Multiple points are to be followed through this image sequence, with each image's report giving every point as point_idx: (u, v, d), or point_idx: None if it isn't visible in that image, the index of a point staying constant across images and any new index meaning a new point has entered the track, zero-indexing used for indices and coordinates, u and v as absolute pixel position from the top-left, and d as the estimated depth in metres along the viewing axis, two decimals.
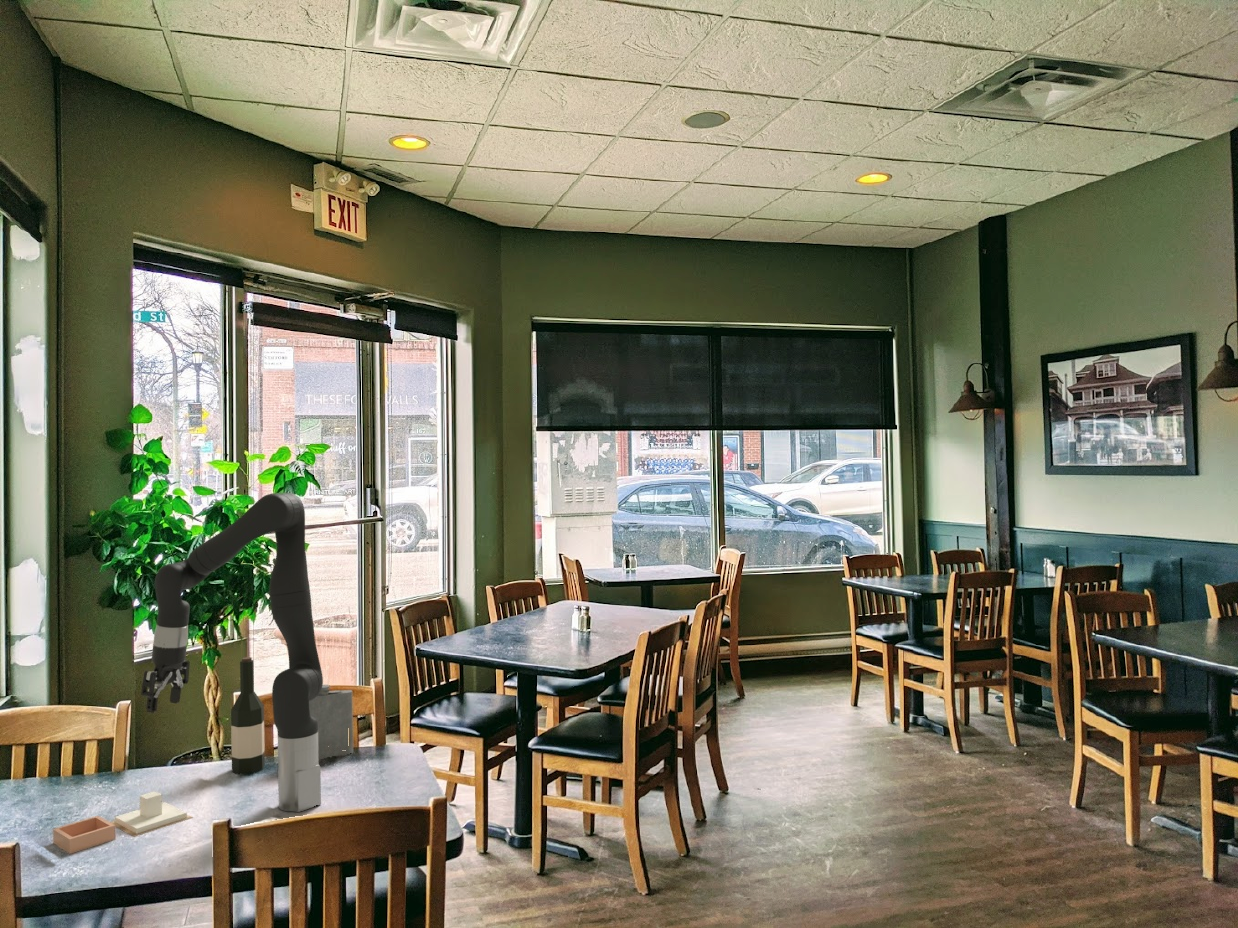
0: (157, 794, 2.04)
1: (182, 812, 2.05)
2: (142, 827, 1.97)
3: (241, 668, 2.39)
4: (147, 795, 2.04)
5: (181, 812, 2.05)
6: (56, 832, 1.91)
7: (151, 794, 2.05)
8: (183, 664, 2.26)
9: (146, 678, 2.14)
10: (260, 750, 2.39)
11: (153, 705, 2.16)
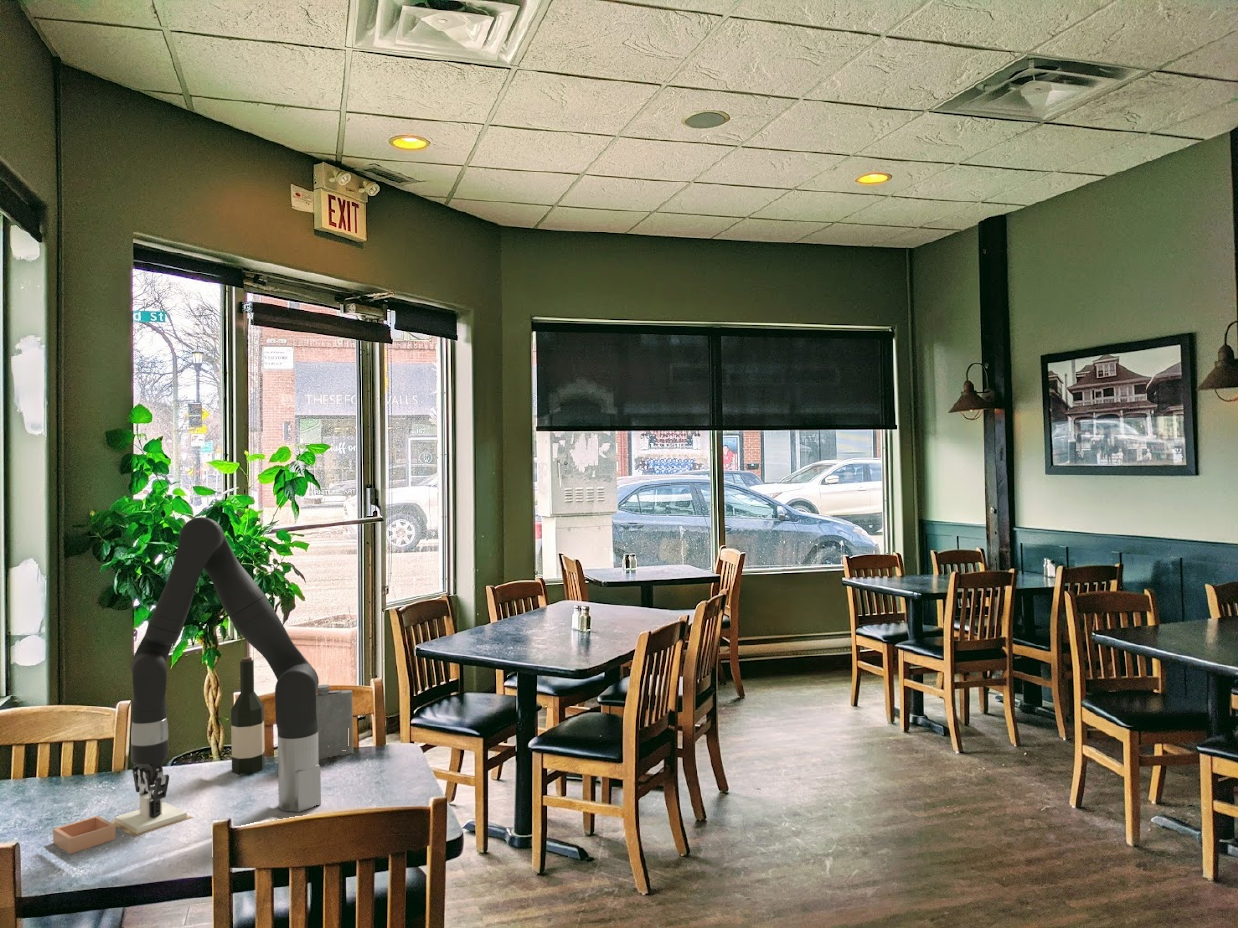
0: None
1: (182, 812, 2.05)
2: (142, 827, 1.97)
3: (241, 668, 2.39)
4: (147, 795, 2.04)
5: (181, 812, 2.05)
6: (56, 832, 1.91)
7: None
8: None
9: (161, 784, 2.00)
10: (260, 750, 2.39)
11: None
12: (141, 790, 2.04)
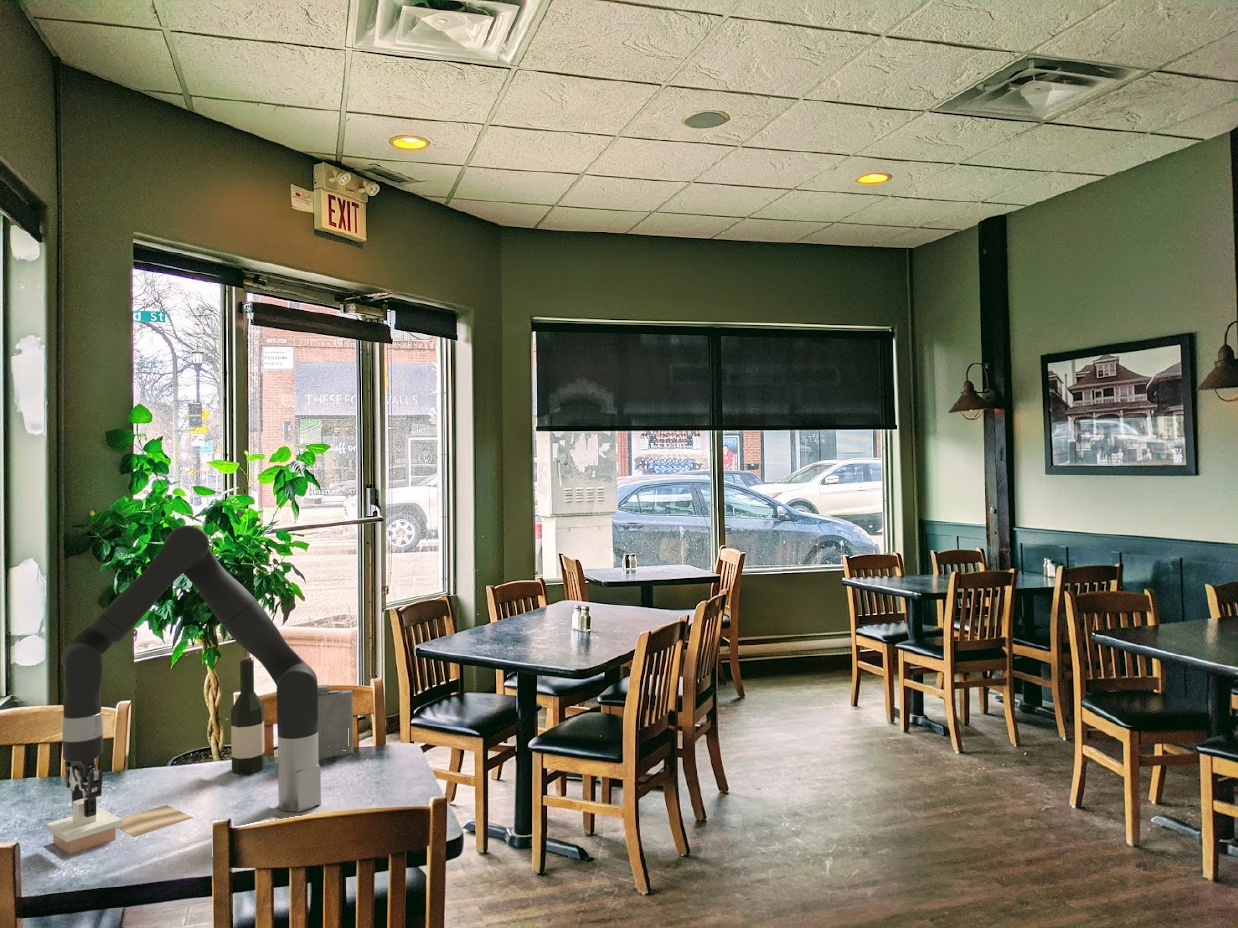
0: None
1: (118, 819, 1.94)
2: (73, 835, 1.86)
3: (241, 668, 2.39)
4: (80, 801, 1.93)
5: (117, 819, 1.94)
6: None
7: None
8: None
9: (94, 779, 1.89)
10: (260, 750, 2.39)
11: None
12: (71, 786, 1.94)
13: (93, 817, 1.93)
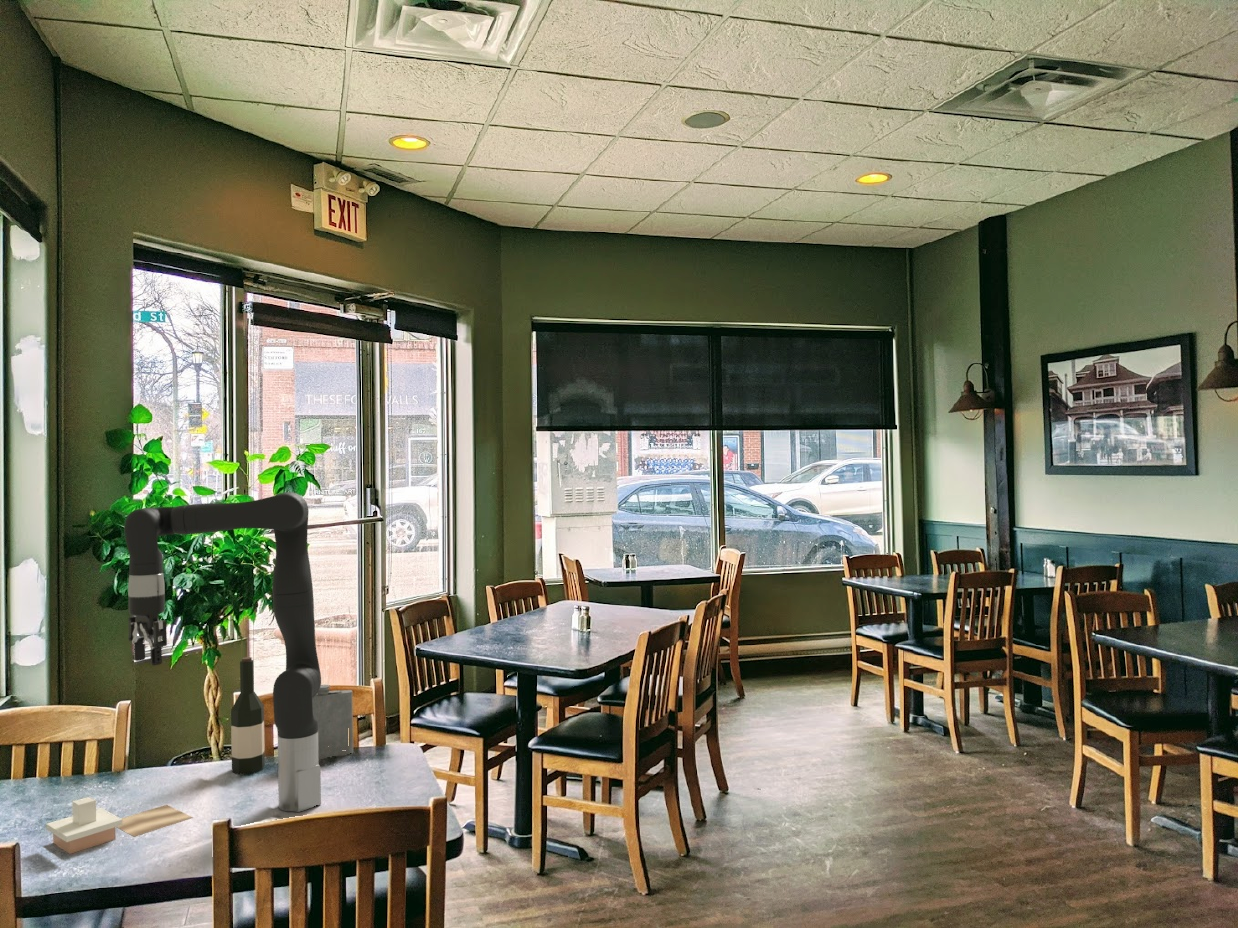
0: (91, 800, 1.93)
1: (118, 819, 1.94)
2: (73, 835, 1.86)
3: (241, 668, 2.39)
4: (80, 801, 1.93)
5: (117, 819, 1.94)
6: None
7: (84, 799, 1.94)
8: None
9: (159, 628, 2.04)
10: (260, 750, 2.39)
11: (160, 656, 2.06)
12: (134, 638, 2.10)
13: (93, 817, 1.93)
